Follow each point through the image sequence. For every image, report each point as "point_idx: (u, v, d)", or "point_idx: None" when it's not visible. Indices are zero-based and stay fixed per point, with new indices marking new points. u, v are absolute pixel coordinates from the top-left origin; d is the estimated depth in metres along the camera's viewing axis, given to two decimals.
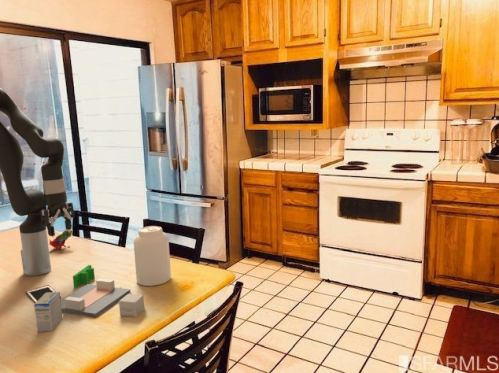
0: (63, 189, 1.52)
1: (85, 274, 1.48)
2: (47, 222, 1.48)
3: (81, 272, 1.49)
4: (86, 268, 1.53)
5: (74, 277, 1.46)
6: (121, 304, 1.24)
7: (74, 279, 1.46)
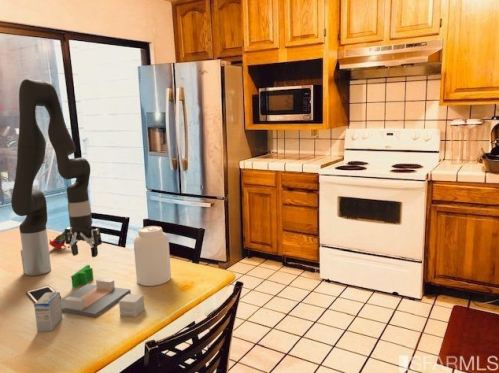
0: None
1: (84, 274, 1.48)
2: None
3: (80, 272, 1.49)
4: (85, 268, 1.53)
5: (73, 277, 1.46)
6: (121, 304, 1.24)
7: (73, 279, 1.46)
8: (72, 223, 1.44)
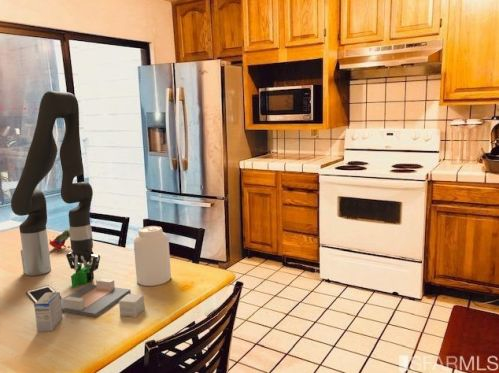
0: None
1: (83, 274, 1.48)
2: None
3: (79, 272, 1.49)
4: (85, 268, 1.53)
5: (72, 277, 1.46)
6: (121, 304, 1.24)
7: (72, 279, 1.46)
8: (73, 246, 1.46)
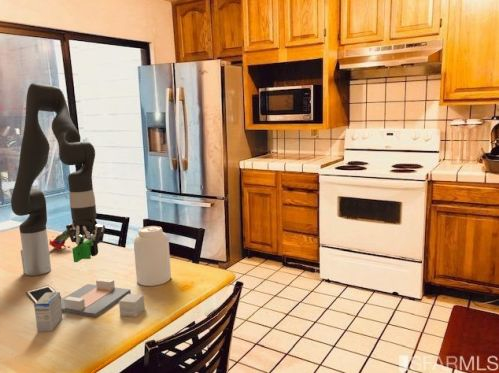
0: None
1: (86, 247, 1.30)
2: None
3: (82, 245, 1.31)
4: (88, 241, 1.35)
5: (74, 249, 1.27)
6: (121, 304, 1.24)
7: (74, 252, 1.28)
8: (74, 215, 1.28)
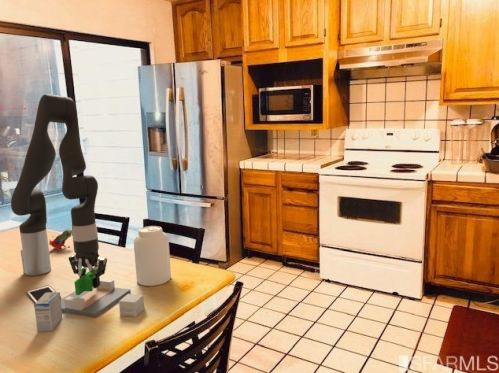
0: None
1: (88, 279, 1.31)
2: None
3: (84, 277, 1.32)
4: (90, 272, 1.36)
5: (76, 283, 1.28)
6: (121, 304, 1.24)
7: (76, 285, 1.29)
8: (76, 249, 1.29)
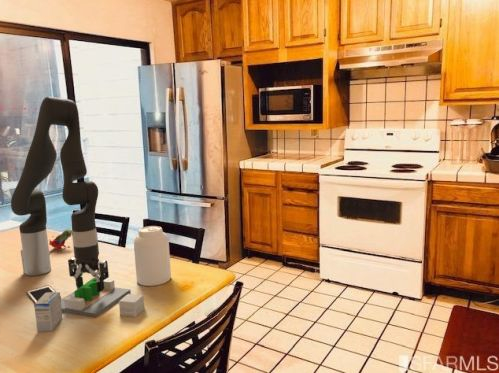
0: None
1: (88, 289, 1.31)
2: None
3: (84, 286, 1.33)
4: (90, 282, 1.36)
5: (76, 292, 1.29)
6: (121, 304, 1.24)
7: (76, 295, 1.29)
8: (77, 254, 1.29)
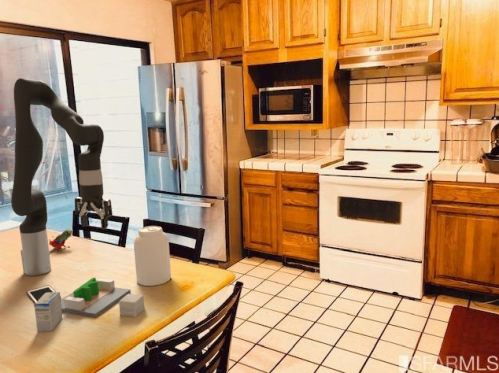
0: None
1: (87, 289, 1.31)
2: None
3: (83, 286, 1.33)
4: (89, 281, 1.36)
5: (75, 292, 1.29)
6: (121, 304, 1.24)
7: (75, 295, 1.29)
8: (82, 192, 1.38)
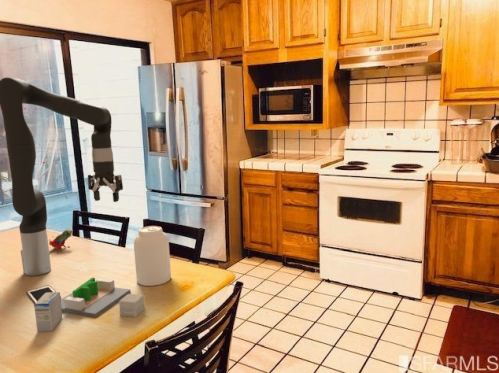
0: None
1: (87, 289, 1.32)
2: None
3: (82, 286, 1.33)
4: (89, 281, 1.36)
5: (74, 292, 1.29)
6: (121, 304, 1.24)
7: (74, 294, 1.29)
8: (96, 168, 1.52)
